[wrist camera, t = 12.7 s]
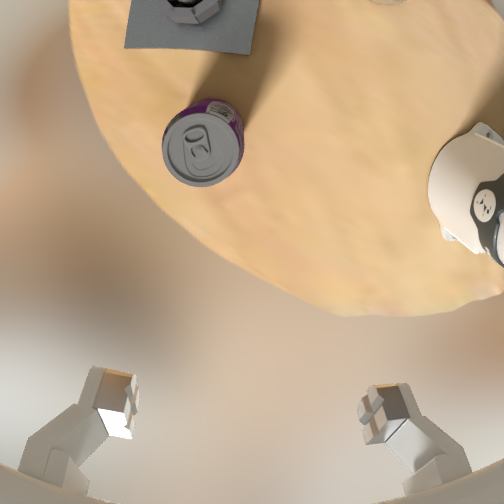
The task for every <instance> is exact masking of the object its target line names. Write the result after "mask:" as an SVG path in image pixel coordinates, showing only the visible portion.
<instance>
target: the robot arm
mask: <svg viewBox="0 0 504 504" xmlns="http://www.w3.org/2000/svg"><path fill="white" fill-rule="evenodd" d="M486 134H487V136H486ZM428 198H429V203H430V206H431V209H432V211H433V213H434V214H435V216H436V217H437V219H438V221H439V223H440V230H441V235H442V237H443V238H444V239H446V240H447V241H456V240H459V241H460V242H461V243H463V244H464V245H465V246H466V247H468V248H469V249H470V250H471V251H472V252H474V253H476V254H478V253H486V252H487V253H488V255H489V256H490V257H491V258H492V259H493V260H494V261H495V262H496V263H498V264H499V265H501V266H502V267H504V140H503V139H502V138H501V137H500V136H499V135H498V134H497V133H496V132H495V131H493V130H492V129H491V128H490V127H489V126H488V125H486V124H484V123H483V122H479V123H477V124H476V125H475V126H474V127H473V128H472V129H471V130H470V131H469V132H468V133H466V134H464V135H462V136H459V137H457V138H455V139H453V140H452V141H450V142H449V143H448V144H447V145H446V146H445V147H444V148H443V149H442V150H441V152H440V153H439V154H438V156H437V158H436V160H435V162H434V164H433V166H432V169H431V172H430V176H429V182H428ZM136 382H137V378H136V374H132V373H127V372H121V371H116V370H111V369H107V368H102V367H96V366H92V368H91V369H90V371H89V373H88V376H87V379H86V382H85V385H84V387H83V390H82V393H81V396H80V399H79V402H78V404H72V405H71V406H70V407H69V408H67V409H66V410H65V411H64V412H62V413H61V414H60V415H58V416H57V417H56V418H54V419H53V420H52V421H50V422H49V423H48V424H46V425H45V426H44V427H42V428H41V429H40V430H39V431H37V432H36V433H35V434H33V435H32V436H31V437H29V438H28V440H27V443H26V446H25V449H24V452H23V455H22V458H21V461H20V465H19V468H18V471H17V470H15V469H12V468H10V467H8V466H6V465H4V464H1V463H0V504H120V503H116V502H111V501H107V500H103V499H99V498H95V497H92V496H88V495H87V492H88V486H89V480H88V478H87V477H86V476H85V474H84V473H83V472H82V471H81V470H80V469H79V466H80V465H81V464H82V463H83V462H84V461H85V460H86V459H87V458H88V457H89V456H90V455H91V454H92V453H93V452H94V451H95V450H96V449H97V448H98V447H99V446H100V445H101V444H102V443H103V442H104V441H105V440H106V439H107V438H108V437H109V435H112V436H117V437H123V438H129V439H132V437H133V432H134V426H135V420H134V417H133V416H134V415H135V414H136V413H137V412H138V407H139V388H138V387H137V386H136ZM357 412H358V418H359V421H360V422H361V423H362V424H363V425H364V427H363V429H362V433H363V436H364V440H365V443H366V445H369V444H378V443H385V444H386V446H387V447H388V448H389V449H390V450H391V451H392V452H393V453H394V455H396V457H397V458H398V459H399V460H400V461H401V462H402V463H403V465H404V466H405V467H406V468H407V469H408V470H409V471H410V472H411V473H412V475H411V476H410V477H408V478H407V479H405V480H404V482H403V488H404V492H405V496H403V497H399V498H395V499H392V500H387V501H383V502H379V503H374V504H504V459H502V460H499V461H497V462H496V463H493V464H491V465H489V466H487V467H484V468H482V469H480V470H478V471H475V472H472V470H471V467H470V465H469V462H468V459H467V457H466V454H465V451H464V449H463V447H462V446H461V445H460V444H458V443H457V442H456V441H455V440H454V439H452V438H451V437H450V436H448V435H447V434H446V433H445V432H443V430H441V429H440V428H439V427H437V426H436V425H435V424H434V423H433V422H432V421H430V420H429V419H428V418H427V417H426V416H422V415H421V413H420V410H419V408H418V406H417V403H416V401H415V398H414V396H413V394H412V391H411V389H410V386H409V385H408V384H407V383H398V384H383V385H372V386H370V387H369V388H368V390H367V395H366V396H364V397H363V398H362V399H361V400H360V402H359V404H358V409H357Z"/></svg>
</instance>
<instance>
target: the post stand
mask: <svg viewBox="0 0 504 504" xmlns="http://www.w3.org/2000/svg"><path fill="white" fill-rule="evenodd" d="M202 1H203V0H171V5H172V6H173V7H180V8H193V7H195V6H196V5H197V4H199V3H200V2H202ZM258 4H259V0H222V6H221V9H220V10H219V11H218V12H216V13H215V14H214V15H212V16H211V17H209V18H208V19H206V20H205V21H203V22H202V23H199V24H194V23H176V22H174V21H173V20H171V19H170V18H169V17H168V16H167V15H166V14H165V13H164V12H163V11H162V10H161V9H160V8H159V7H158V6H157V5H156V4H155V3H154V2H153V1H152V0H132V1H131V7H130V13H129V19H128V25H127V31H126V38H125V46H124V48H125V49H185V50H201V51H214V52H224V53H233V54H242V55H249V56H250V51H251V45H252V39H253V33H254V27H255V21H256V15H257V10H258Z"/></svg>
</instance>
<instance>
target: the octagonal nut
mask: <svg viewBox="0 0 504 504" xmlns="http://www.w3.org/2000/svg"><path fill="white" fill-rule="evenodd" d="M152 1H153V2H154V3H155V4H156V5H157V6H158V7H159V8H160V9H161V10H162V11H163V12H164V13H165V14H166V15H167V16H168V17H169V18H170V19H171V20H173V21H174V22H176V23H194V24H199V23H202V22H203V21H205V20H206V19H208V18H209V17H211V16H212V15H214V14H215V13H216V12H218V11H219V10H220V9H221V6H222V0H203V1H202V2H200V3H199V4H197V5H196V6H195V7H193V8H180V7H173V6H172V5H171V0H152Z"/></svg>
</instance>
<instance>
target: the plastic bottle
mask: <svg viewBox="0 0 504 504" xmlns="http://www.w3.org/2000/svg"><path fill="white" fill-rule="evenodd" d="M370 1H372V2H374V3H376V4H379V5H399V4H401V3H403V2H405V1H406V0H370Z"/></svg>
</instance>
